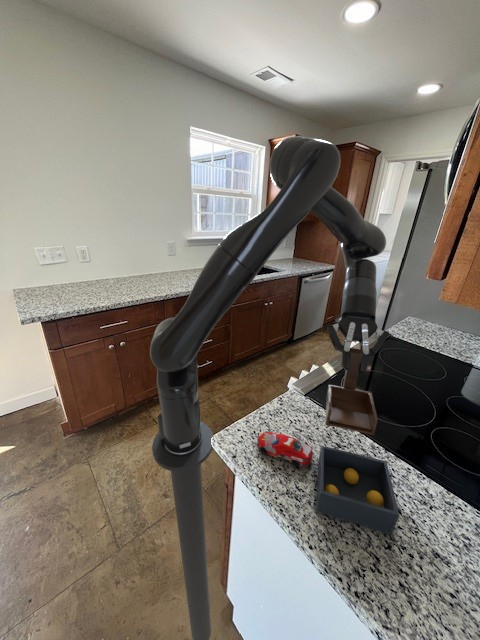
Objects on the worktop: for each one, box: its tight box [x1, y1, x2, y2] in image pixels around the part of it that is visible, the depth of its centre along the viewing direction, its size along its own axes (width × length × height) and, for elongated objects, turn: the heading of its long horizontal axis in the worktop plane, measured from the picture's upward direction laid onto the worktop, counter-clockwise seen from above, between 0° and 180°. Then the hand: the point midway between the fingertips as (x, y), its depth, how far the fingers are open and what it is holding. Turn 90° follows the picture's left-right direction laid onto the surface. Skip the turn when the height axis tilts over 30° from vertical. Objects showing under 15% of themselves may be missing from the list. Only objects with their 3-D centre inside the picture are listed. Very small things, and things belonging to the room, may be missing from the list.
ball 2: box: [344, 468, 359, 484], centre depth 56 cm, size 3×3×3 cm
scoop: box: [325, 347, 379, 436], centre depth 57 cm, size 11×9×13 cm
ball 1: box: [324, 484, 339, 495], centre depth 53 cm, size 3×3×3 cm
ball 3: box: [366, 490, 384, 507], centre depth 52 cm, size 3×3×3 cm
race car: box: [256, 431, 313, 468], centre depth 63 cm, size 13×5×4 cm, turn 63°
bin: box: [316, 445, 400, 535], centre depth 53 cm, size 13×11×6 cm
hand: (354, 370), depth 58 cm, fingers closed on scoop, 2 cm apart
